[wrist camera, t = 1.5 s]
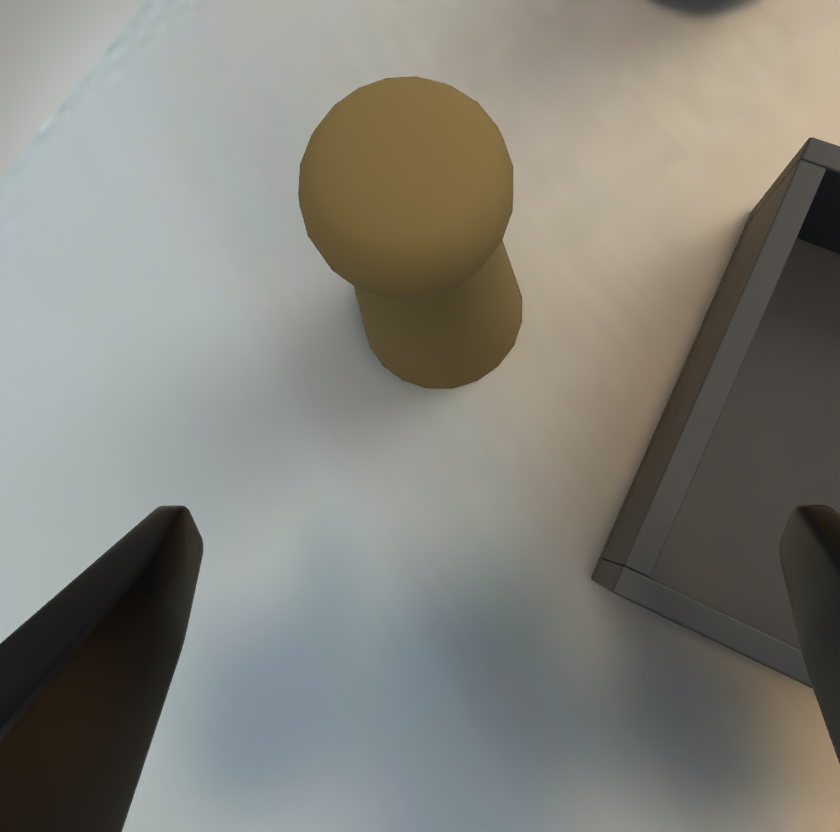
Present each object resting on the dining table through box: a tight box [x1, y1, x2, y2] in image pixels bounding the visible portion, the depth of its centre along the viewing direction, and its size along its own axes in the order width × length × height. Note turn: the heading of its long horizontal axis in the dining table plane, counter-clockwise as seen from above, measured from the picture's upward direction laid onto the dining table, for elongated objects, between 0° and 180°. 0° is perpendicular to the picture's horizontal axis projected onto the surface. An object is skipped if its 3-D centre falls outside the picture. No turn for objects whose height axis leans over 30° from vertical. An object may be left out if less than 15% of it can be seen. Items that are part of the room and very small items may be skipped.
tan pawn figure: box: [298, 77, 522, 388], centre depth 20 cm, size 6×6×11 cm
